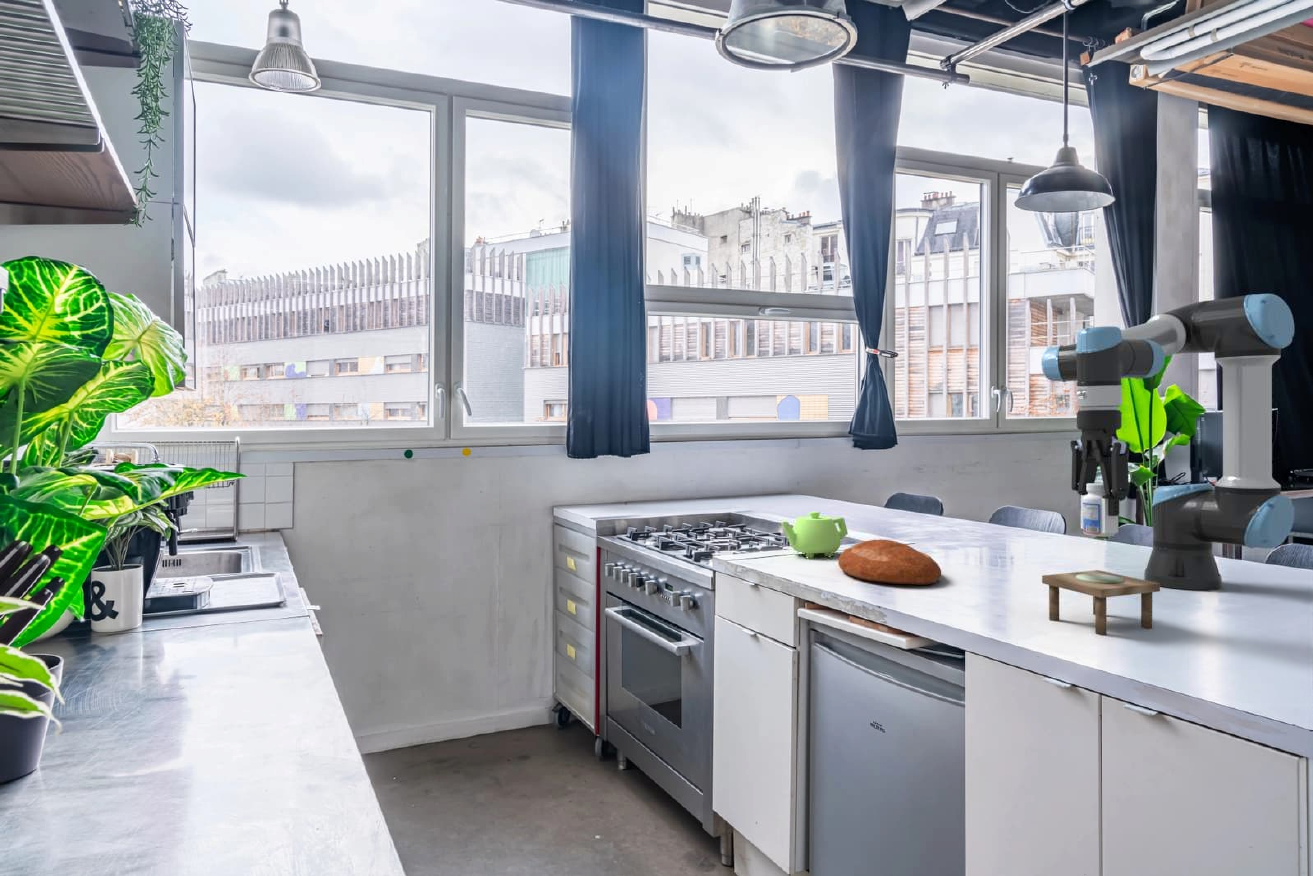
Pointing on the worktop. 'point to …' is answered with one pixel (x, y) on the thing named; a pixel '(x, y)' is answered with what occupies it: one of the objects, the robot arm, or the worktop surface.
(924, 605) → the worktop surface
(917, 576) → the bread
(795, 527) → the teapot
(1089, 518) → the pill bottle
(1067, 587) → the small wooden table
